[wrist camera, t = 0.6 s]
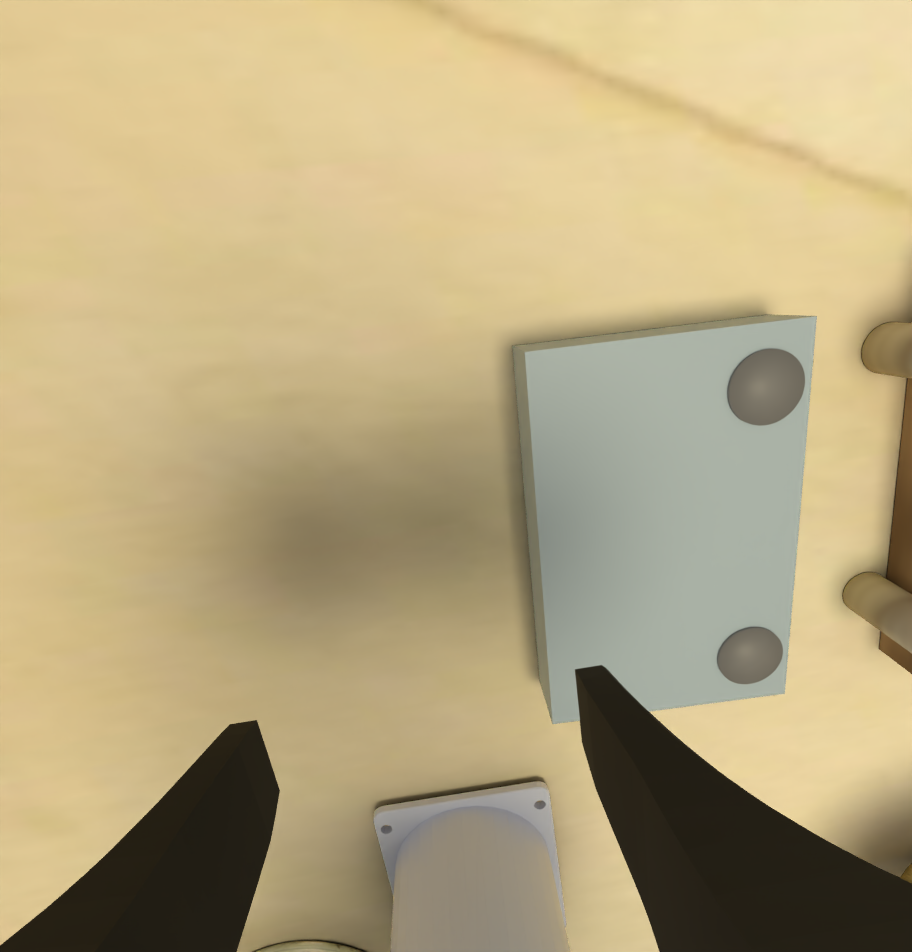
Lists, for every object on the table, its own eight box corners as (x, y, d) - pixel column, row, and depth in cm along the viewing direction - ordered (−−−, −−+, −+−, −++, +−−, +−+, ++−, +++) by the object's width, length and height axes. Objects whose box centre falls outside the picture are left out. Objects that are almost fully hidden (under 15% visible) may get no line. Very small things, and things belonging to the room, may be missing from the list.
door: (741, 646, 24) (787, 696, 21) (537, 673, 24) (553, 726, 21) (759, 314, 19) (820, 316, 16) (510, 345, 19) (525, 352, 16)
